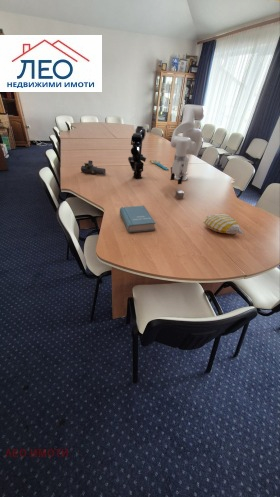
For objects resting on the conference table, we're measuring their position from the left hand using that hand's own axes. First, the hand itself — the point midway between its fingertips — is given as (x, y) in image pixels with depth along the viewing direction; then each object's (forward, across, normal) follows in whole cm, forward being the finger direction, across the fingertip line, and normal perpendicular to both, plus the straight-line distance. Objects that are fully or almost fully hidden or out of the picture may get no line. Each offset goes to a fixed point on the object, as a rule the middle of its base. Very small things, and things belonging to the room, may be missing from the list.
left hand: (135, 172), depth 182 cm
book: (+10, -60, +24) cm, 65 cm away
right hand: (-1, -32, -20) cm, 38 cm away
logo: (+11, +46, -49) cm, 68 cm away
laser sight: (+11, +35, +27) cm, 46 cm away
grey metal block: (+11, -35, -23) cm, 43 cm away
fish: (+11, -85, -24) cm, 89 cm away
